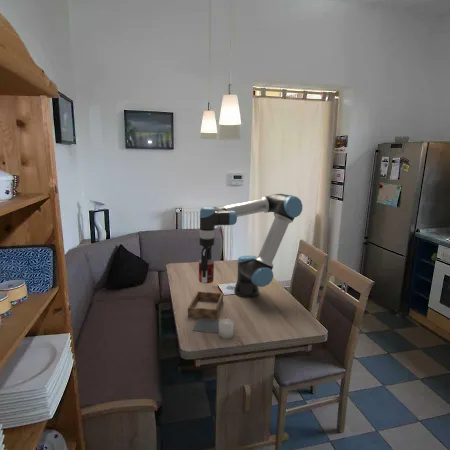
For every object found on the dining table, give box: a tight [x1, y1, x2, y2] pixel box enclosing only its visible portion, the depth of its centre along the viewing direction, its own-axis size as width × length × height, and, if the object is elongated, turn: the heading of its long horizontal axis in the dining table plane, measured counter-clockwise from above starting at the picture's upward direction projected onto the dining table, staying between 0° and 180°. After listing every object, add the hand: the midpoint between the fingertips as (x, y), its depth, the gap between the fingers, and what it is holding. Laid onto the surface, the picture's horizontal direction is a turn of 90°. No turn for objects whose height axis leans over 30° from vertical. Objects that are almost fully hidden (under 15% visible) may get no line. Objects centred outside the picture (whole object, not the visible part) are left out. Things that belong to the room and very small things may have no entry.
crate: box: [187, 291, 224, 320], centre depth 172 cm, size 15×22×5 cm
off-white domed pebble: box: [218, 318, 235, 339], centre depth 147 cm, size 7×7×6 cm
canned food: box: [198, 259, 215, 284], centre depth 166 cm, size 8×8×11 cm
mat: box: [192, 318, 221, 334], centre depth 155 cm, size 12×12×1 cm
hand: (206, 279), depth 167 cm, fingers closed on canned food, 8 cm apart
